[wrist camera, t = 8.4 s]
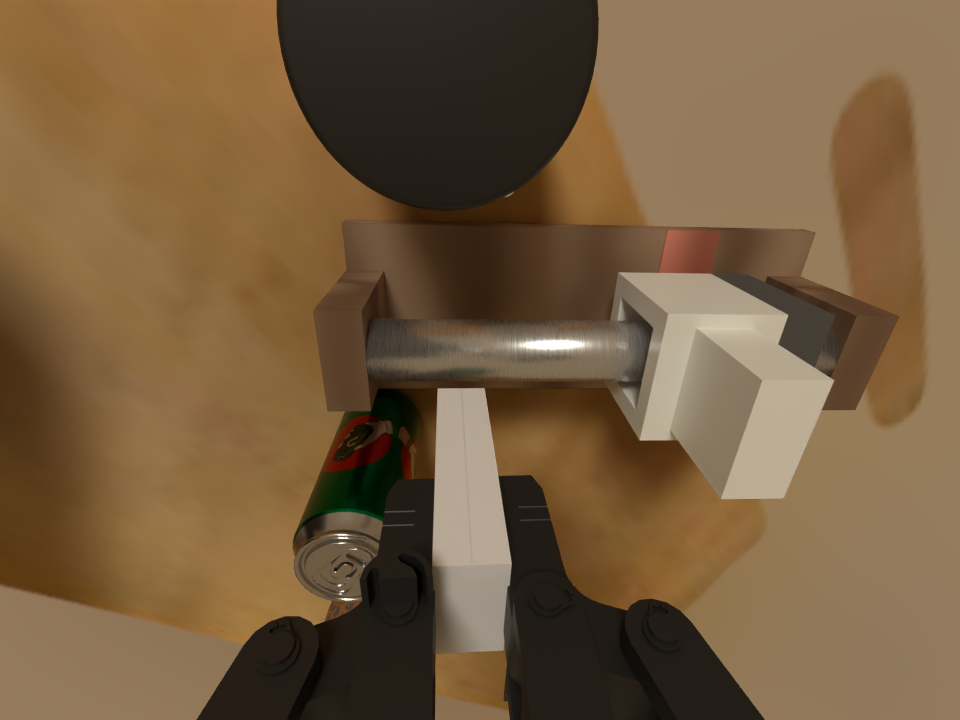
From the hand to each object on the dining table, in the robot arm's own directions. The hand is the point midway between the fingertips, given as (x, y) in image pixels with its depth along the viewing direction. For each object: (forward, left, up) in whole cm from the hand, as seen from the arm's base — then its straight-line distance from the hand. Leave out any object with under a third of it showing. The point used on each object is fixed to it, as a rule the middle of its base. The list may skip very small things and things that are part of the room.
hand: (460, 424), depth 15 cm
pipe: (+7, -1, -9) cm, 11 cm away
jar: (-1, +11, -14) cm, 17 cm away
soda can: (-5, -9, -14) cm, 17 cm away
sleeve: (+11, -1, -10) cm, 15 cm away
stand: (+7, -1, -13) cm, 15 cm away
